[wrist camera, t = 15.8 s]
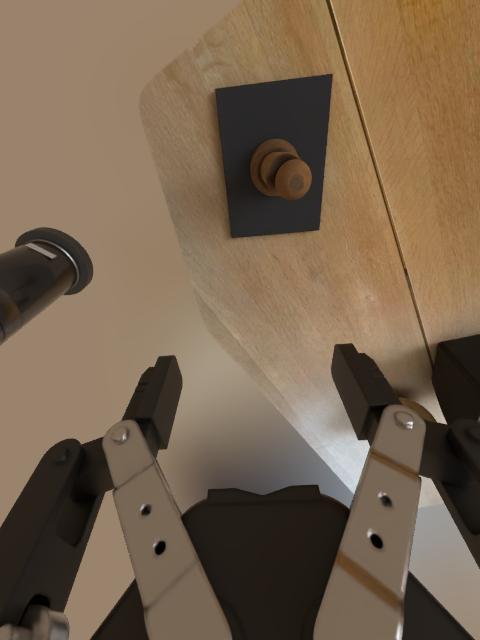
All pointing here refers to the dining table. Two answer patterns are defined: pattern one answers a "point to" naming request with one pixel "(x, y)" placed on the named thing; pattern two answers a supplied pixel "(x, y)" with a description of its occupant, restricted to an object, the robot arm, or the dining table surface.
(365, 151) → the dining table surface
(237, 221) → the mat
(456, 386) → the flower pot
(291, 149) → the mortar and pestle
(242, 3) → the dining table surface
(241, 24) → the dining table surface
